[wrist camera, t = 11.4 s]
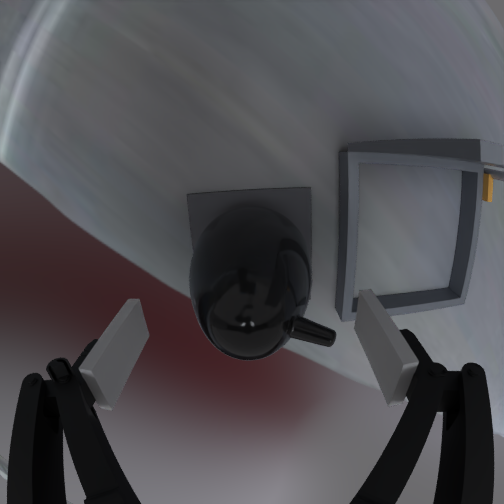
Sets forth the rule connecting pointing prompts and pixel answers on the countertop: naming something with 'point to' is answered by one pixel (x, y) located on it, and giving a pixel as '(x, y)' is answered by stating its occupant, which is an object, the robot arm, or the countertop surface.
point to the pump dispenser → (253, 284)
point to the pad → (278, 199)
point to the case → (473, 192)
